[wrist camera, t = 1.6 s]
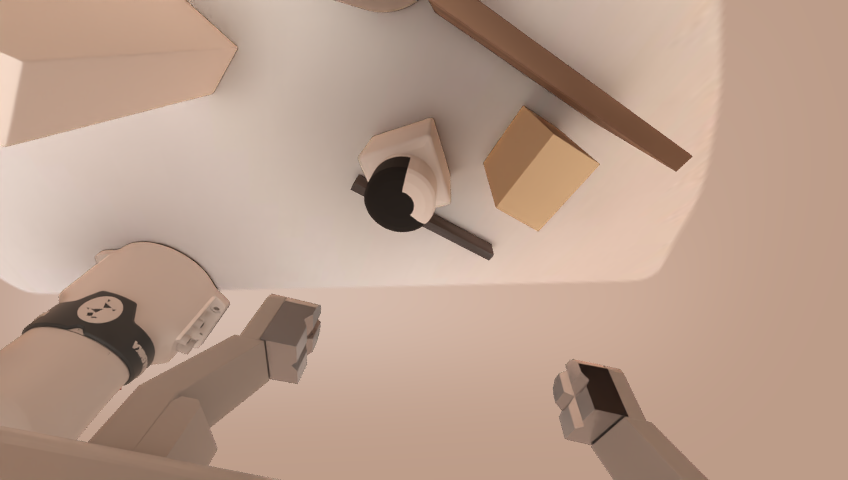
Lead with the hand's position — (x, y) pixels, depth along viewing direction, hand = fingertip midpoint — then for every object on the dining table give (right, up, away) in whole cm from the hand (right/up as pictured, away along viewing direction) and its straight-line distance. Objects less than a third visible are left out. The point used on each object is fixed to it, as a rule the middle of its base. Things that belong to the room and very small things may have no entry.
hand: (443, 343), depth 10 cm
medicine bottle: (-2, +13, +26) cm, 29 cm away
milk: (-23, +22, +21) cm, 38 cm away
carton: (+10, +14, +24) cm, 29 cm away
